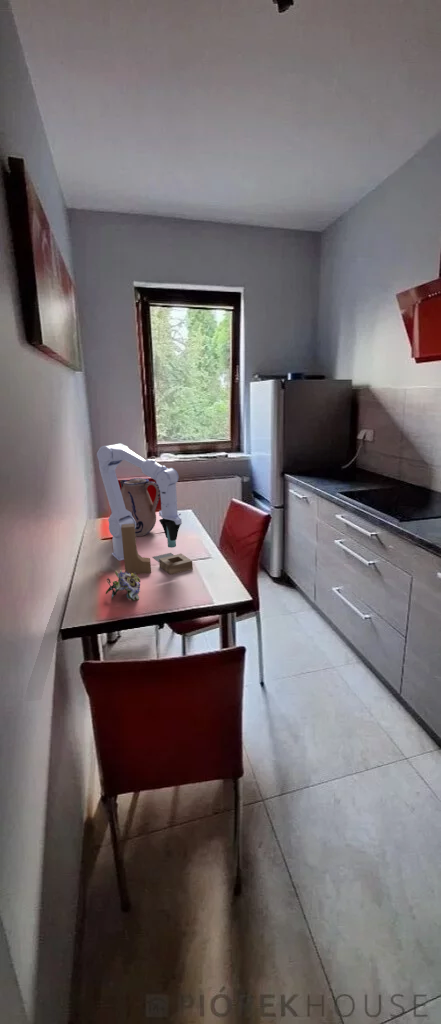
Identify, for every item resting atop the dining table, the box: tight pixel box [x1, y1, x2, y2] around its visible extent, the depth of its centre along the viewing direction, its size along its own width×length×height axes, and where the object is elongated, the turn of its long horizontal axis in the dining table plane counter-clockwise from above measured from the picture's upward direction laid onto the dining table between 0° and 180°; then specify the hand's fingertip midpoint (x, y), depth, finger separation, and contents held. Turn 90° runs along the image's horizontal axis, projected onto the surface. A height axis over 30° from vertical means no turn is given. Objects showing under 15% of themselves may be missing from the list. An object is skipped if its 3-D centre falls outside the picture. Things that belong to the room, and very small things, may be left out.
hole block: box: [158, 553, 194, 575], centre depth 155 cm, size 9×9×4 cm
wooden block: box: [121, 523, 152, 575], centre depth 150 cm, size 9×4×18 cm, turn 101°
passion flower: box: [105, 569, 141, 602], centre depth 133 cm, size 11×11×12 cm
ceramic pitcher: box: [119, 477, 161, 537], centre depth 192 cm, size 18×21×25 cm
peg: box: [166, 526, 177, 549], centre depth 155 cm, size 3×3×9 cm
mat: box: [152, 552, 174, 563], centre depth 165 cm, size 8×8×1 cm
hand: (171, 538), depth 155 cm, fingers closed on peg, 3 cm apart
